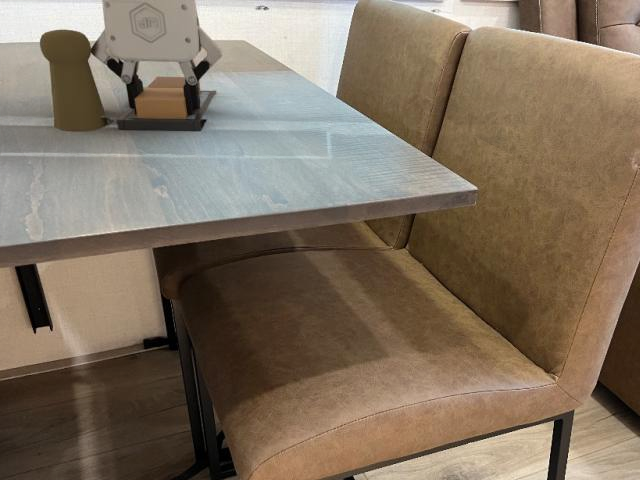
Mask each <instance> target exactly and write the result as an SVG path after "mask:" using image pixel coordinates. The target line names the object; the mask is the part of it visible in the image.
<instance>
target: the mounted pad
mask: <svg viewBox="0 0 640 480" xmlns="http://www.w3.org/2000/svg"><path fill="white" fill-rule="evenodd" d="M185 79H186V78H185V76H156V77H155V78H154V79H153V80H152V81H151V82H150V84H148V86H147V88H183V86H184V85H185ZM200 82H201V81H200V80H199V81H198V88H199V96H200V95H201V93H202V92H201V91H202V90H201V83H200Z"/></svg>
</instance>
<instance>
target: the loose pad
mask: <svg viewBox="0 0 640 480" xmlns="http://www.w3.org/2000/svg"><path fill="white" fill-rule="evenodd" d="M147 87H148V86H147ZM147 87H145V88H143V89H144V90H143V91H142V92H141V93H140V94H139V96H137V97H136V98H135V105H136V111H137V117H136V118H141V119H187V117H188V115H187V109H186V101H185V97H184V90H183V88H147Z"/></svg>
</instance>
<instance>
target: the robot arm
mask: <svg viewBox="0 0 640 480" xmlns="http://www.w3.org/2000/svg"><path fill="white" fill-rule="evenodd" d="M101 2H102V14H103V23H104V29H103V31H102V33H101V34H100V35H99V37H98V38H97V39H96V41H95V42H94V44H93V45H92V46H91V56H94V57H95V58H96V59H97V60H99V61H100V62H101V63H102V64H104V65H105V66H107V69H109V70H110V71H111V72H112V73H114V74H115V76H117V77H119V79H120V80H121V82H122V83H123V84H125V88H126V94H127V101H128V106H129V107H130V108H131V109H134V110H133V111H134V115H137V111H136V105H135V98H136V97H137V96H139V94H140V93H141V92H142V91H143V90H144V89H145V88H144V84H143V81H142V80H141V78H140V77H139V75H138V71H139V66H140V62H163V63H165V62H166V63H169V62H170V63H178V65H179V68H180V70H181V71H182V74H183V77H185V78H186V79H185V85H184V86H183V90H184V97H185V101H186V109H187V117H188V116H191V117H192V116H194V115H195V112H196V111H199V110H200V108H201V97H200V95H199V88H198V81H199V82H200V80H201V79H202V78H203V76H205V74H206V73H207V72H208V71H209V70H210V69H211V68H212V67H214V65H215V64H216V63H217V62H218V61H219V60H220V59H221V58H222V56H223V55H224V52H223V50H222V49H221V48H220V46H218V44H217V43H216V42H215V41H214V40H213V39H212V38H211V37H210V36H209V35H208V34H207V33H206V31H204V30H203V28H201V26H200V19H199V14H198V9H197V4H196V3H197V2H196V0H102V1H101ZM202 49H204V50H205V52H206V56H205V57H204V58H202V59H201V61H200V62H199V63H198V64H196V62H195V60H194V59H196V58H197V56H198V55H199V53H200V52H201V51H202Z"/></svg>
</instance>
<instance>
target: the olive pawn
mask: <svg viewBox="0 0 640 480" xmlns="http://www.w3.org/2000/svg"><path fill="white" fill-rule="evenodd" d="M39 48H40V51H41V53H42V55H43V57H44V58H45V59H46V60H47V61H48V63H49V74H50V75H49V76H50V86H51V87H50V88H51V100H52V112H53V125H54V128H55V129H57V130H59V131H63V132H74V133H76V132H91V131H96V130H101V129H104V128H106V127H107V126H108V125H109V120H108V118H107V117H105V115H106V111H105V109H104V105H103V102H102V99H101V97H100V93H99V90H98V86H97V84H96V81H95V77H94V74H93V72H92V69H91V65H90V62H89V60H90V57H91V56H92V54H91V48H92V46H91V42H90V41H89V38H88V37H87V36H86V34H84V33H83V32H82V31H77V30H72V29H54V30H49V31H45V32H44V33H43V34H41V37H40V39H39Z"/></svg>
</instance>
